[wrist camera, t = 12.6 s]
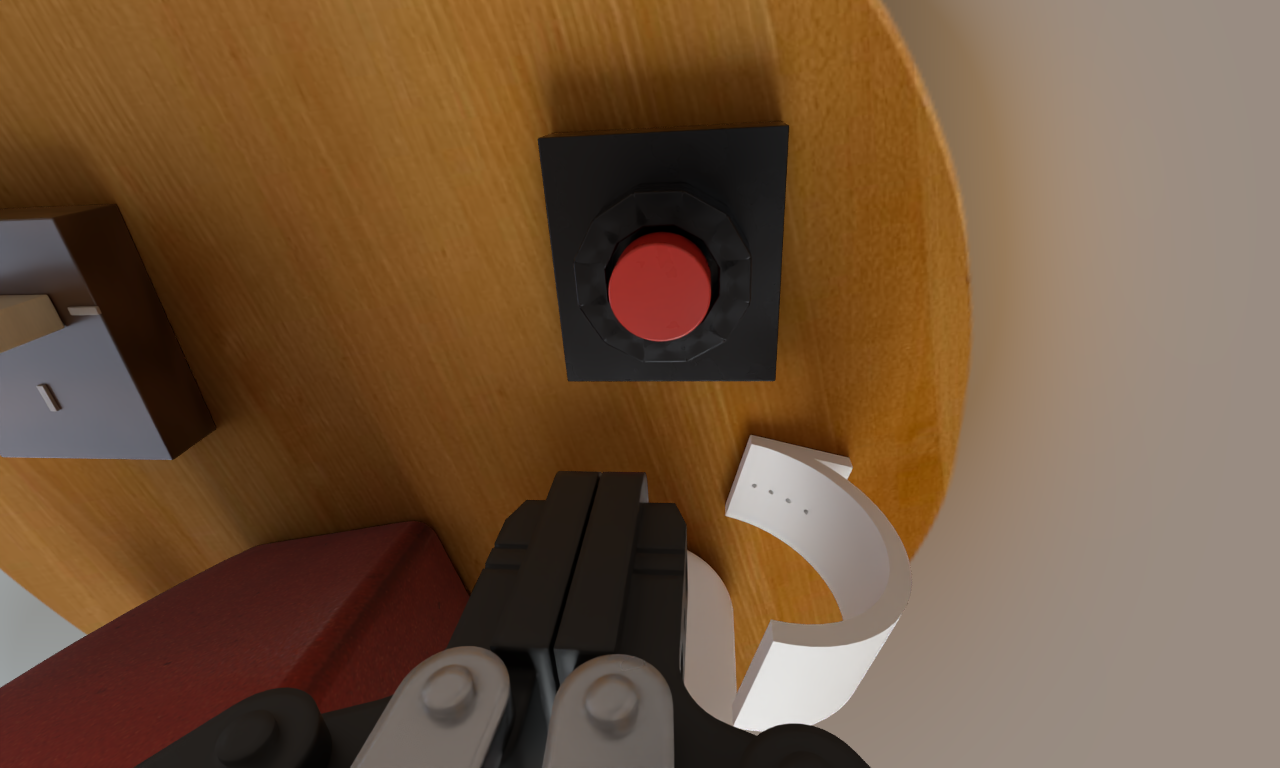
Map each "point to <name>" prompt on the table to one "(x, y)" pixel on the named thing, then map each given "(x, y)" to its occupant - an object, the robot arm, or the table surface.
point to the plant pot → (239, 646)
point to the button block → (677, 203)
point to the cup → (709, 641)
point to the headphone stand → (846, 560)
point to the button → (660, 287)
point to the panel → (91, 345)
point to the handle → (26, 319)
